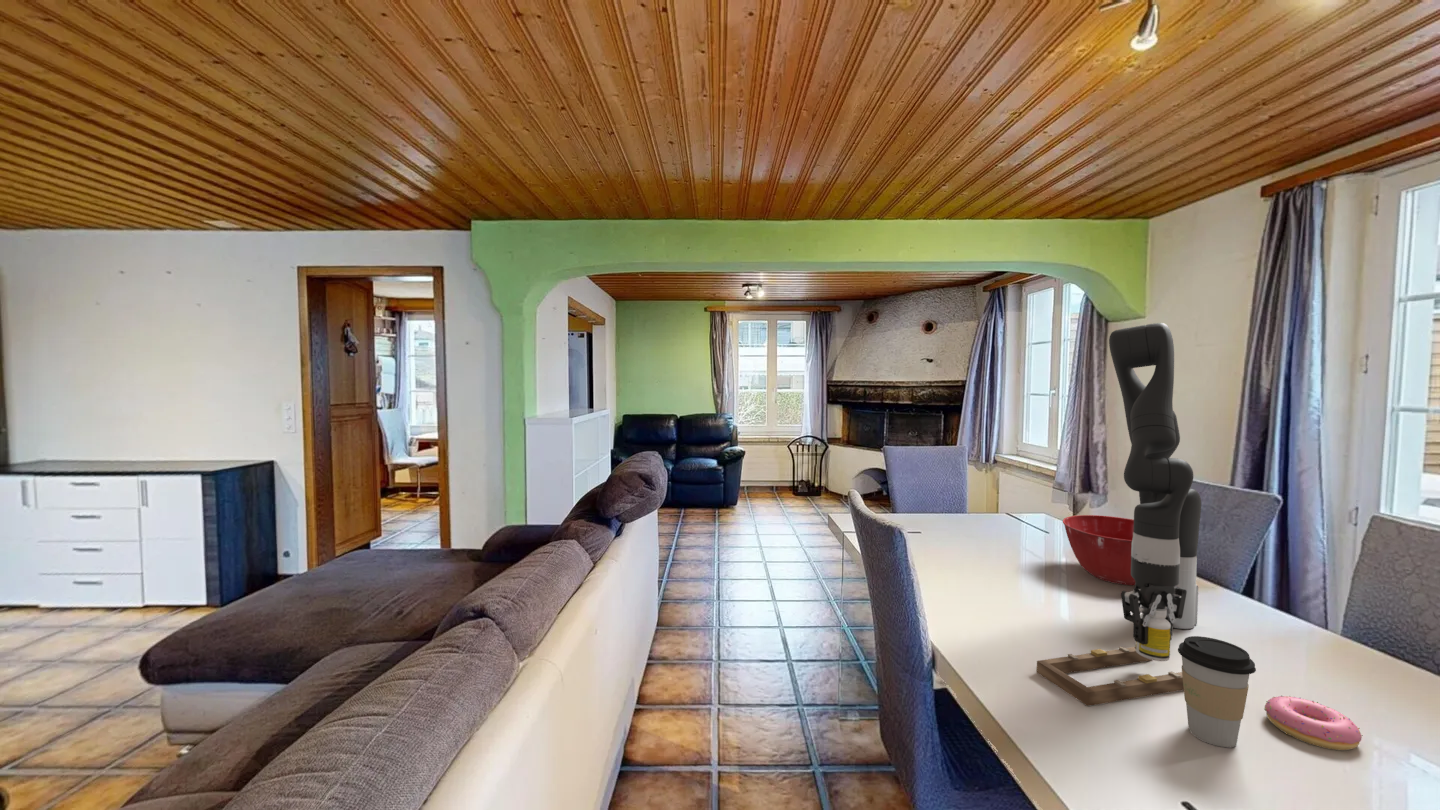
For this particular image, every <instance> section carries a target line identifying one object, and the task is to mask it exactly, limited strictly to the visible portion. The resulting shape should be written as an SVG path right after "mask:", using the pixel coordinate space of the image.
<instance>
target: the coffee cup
mask: <svg viewBox="0 0 1440 810" xmlns="http://www.w3.org/2000/svg"><path fill="white" fill-rule="evenodd" d="M1177 652H1178V653H1179V655H1180V656H1181V663H1182V665H1181V672H1182V677H1183V688H1184V690H1183V696H1184V702H1185V704H1186V706H1185V707H1186V716H1187V727H1188V730H1189V733H1191V734H1192V735H1193V736H1194V737H1196V738H1197V739H1198V740H1201V742H1205V743H1207V744H1209V745H1213V746H1216V747H1220V748H1221V747H1222V748H1235V747H1236V746H1237V743H1238V737H1239V733H1240V728H1241V723H1242V719H1244V714H1245V708H1246V702H1247V699H1248V698H1247V697H1248V692H1249V679H1250V675H1251V674H1255V673H1256V672H1257V668H1256V664H1255V662H1254V661H1253V659H1251V656H1250V654H1249V653H1248V651H1247V650H1245V649H1243V648H1242V647H1239V646H1238V645H1236V644H1234V643H1233V644H1232V643H1231V642H1228V641H1225V640H1222V639H1217V638H1214V637H1207V636H1199V635H1193V636H1187V637H1185V638H1184V640H1183V642H1181V643H1179V645H1178V648H1177Z"/></svg>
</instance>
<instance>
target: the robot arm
mask: <svg viewBox="0 0 1440 810" xmlns="http://www.w3.org/2000/svg"><path fill="white" fill-rule="evenodd" d="M1171 331H1172V330H1171V329H1170V327H1169V326H1168V324H1166V323H1164V322H1155V323H1147V324H1143V325H1137V326H1136V325H1135V326H1131V327H1130V326H1129V327H1125V328H1120V329H1116V330H1114V331H1113V330H1112V332H1111V333H1110V335H1109V338H1108V345H1109V346H1108V347H1109V353H1110V357H1111V359H1112V360H1111V361H1112V363H1113V367H1114V371H1115V374H1116V377H1117V381H1118V385H1119V389H1120V392H1121V396H1122V400H1123V401H1122V402H1123V406H1124V414H1125V420H1126V426H1127V431H1128V435H1129V440H1130V444H1131V446H1130V452H1129V454H1128V455H1129V456H1128V458H1127V460H1126V461H1127V462H1126V463H1125V468H1124V471H1123V480H1124V482H1125V484H1126V486H1127V487H1128V488H1129V489H1131V490H1132V491H1135V492H1138V494H1139V495H1138V496H1139V503H1140V504H1139V503H1138V504H1137V505H1136V506H1135V507H1134V510H1133V520H1134V532H1133V538H1132V547H1131V576H1132V577H1133V578H1134V580H1135V582H1136V583H1135V585H1134V587H1133V590H1131V591H1125V590H1123V591H1121V593H1120V599H1121V604H1122V605H1121V606H1122V613H1123V618H1124V619H1125V620H1126V621H1129V622H1131V623H1133V632H1132V633H1133V634H1132V638H1133V639H1134V641H1136V642H1138V643H1141V644H1143V645H1144V644H1147V643H1148V626H1147V625H1148V622H1149V619H1150V617H1151V616H1154V613H1155V611H1156V609H1158V608H1159V609H1166V610H1167V616H1166V618H1165V619H1166V620H1168V621H1169V622H1170V625H1171V634H1170V642H1171V641H1172V638H1173V637H1172V636H1173V628H1174V629H1181V630H1182V629H1183V630H1189V629H1191V630H1192V629H1194V628H1195V625H1197V624H1198V609H1199V608H1198V606H1199V605H1198V604H1199V603H1198V602H1199V585H1197V566H1198V565H1197V562H1198V560H1197V559H1198V558H1197V557H1198V556H1197V555H1198V544H1199V533H1200V524H1201V523H1200V522H1201V514H1202V499H1201V495H1200V493H1199V491H1197V490H1196V489H1193V488H1192V484H1193V482H1194V471H1193V468H1192V466H1191V465H1190V464H1189V462H1187V461H1186V460H1184V459H1183V458H1176V457H1171V456H1173V454H1174V453H1175V452H1176V450H1177V448H1178V446H1179V445H1180V442H1181V435H1180V428H1179V424H1178V419H1177V418H1178V417H1177V415H1176V412H1175V411H1174V408H1173V407H1174V406H1173V397H1174V386H1175V385H1174V383H1175V381H1174V379H1175V346H1174V339H1173V335H1172V332H1171ZM1151 366H1155V368H1154V372H1153V375H1152V376H1151V378H1150V379H1149V382H1148V383H1147V384H1146V385H1145V384H1144V383H1143V382H1142V381H1141V380H1140V378H1139V375H1137V374H1136V372H1135V370H1134V369H1136V368H1143V367H1144V368H1145V367H1151ZM1141 605H1142V606H1143V607H1146V608H1148V609H1147V610H1145V609H1142V608H1141ZM1142 613H1143V614H1144V615H1143V617H1142V619H1141V618H1140V614H1142Z"/></svg>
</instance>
